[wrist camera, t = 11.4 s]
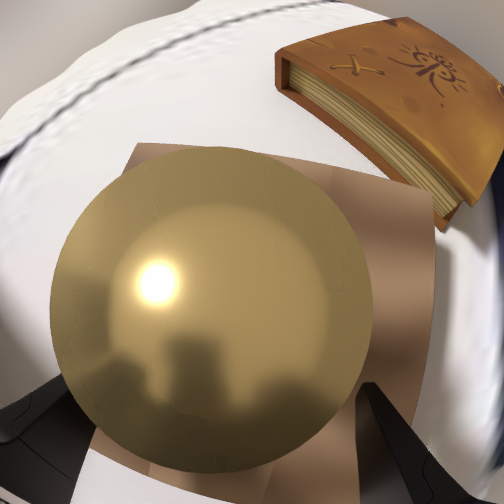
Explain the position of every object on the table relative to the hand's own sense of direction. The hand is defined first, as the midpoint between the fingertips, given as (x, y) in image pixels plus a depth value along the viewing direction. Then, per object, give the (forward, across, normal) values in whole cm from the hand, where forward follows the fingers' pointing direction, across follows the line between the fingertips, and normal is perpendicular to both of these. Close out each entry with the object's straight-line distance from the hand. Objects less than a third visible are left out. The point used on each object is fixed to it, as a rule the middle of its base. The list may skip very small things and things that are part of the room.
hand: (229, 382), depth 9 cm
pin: (+7, 0, +4) cm, 8 cm away
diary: (+23, -15, -12) cm, 30 cm away
